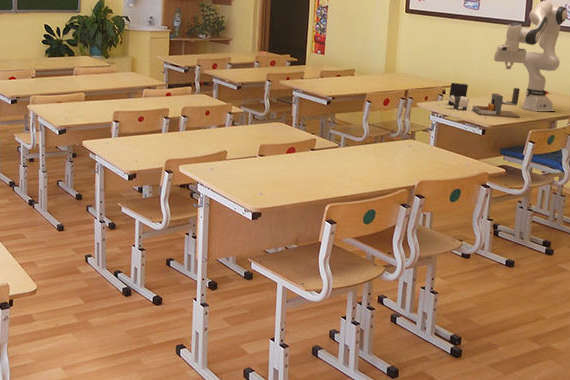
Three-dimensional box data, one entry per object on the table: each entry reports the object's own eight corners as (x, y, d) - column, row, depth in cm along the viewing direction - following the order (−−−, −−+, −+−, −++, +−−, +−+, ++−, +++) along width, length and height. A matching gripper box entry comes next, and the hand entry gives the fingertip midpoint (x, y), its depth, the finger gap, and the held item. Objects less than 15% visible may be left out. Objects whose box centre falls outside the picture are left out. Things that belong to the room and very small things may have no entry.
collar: (490, 111, 546) (491, 103, 544) (493, 112, 540) (494, 105, 539) (487, 110, 546) (488, 103, 544) (490, 112, 540) (491, 104, 538)
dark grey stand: (511, 113, 552) (514, 94, 549) (519, 117, 537) (522, 98, 533) (472, 110, 550) (474, 91, 546) (479, 115, 535) (482, 95, 531)
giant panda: (466, 109, 552) (468, 95, 549) (468, 110, 547) (470, 96, 544) (444, 107, 552) (446, 93, 549) (446, 109, 546) (448, 94, 543)
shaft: (515, 104, 544) (518, 88, 541) (517, 105, 541) (519, 89, 538) (496, 103, 543) (499, 86, 540) (497, 104, 540) (500, 87, 537)
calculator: (464, 105, 564) (467, 84, 560) (464, 106, 560) (468, 85, 556) (448, 104, 565) (451, 82, 561) (448, 105, 561) (451, 83, 557)
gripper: (525, 48, 539) (521, 69, 543) (495, 46, 537) (491, 67, 541) (528, 49, 533) (525, 70, 537) (498, 47, 531) (494, 68, 535)
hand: (508, 69), depth 539 cm, fingers closed
